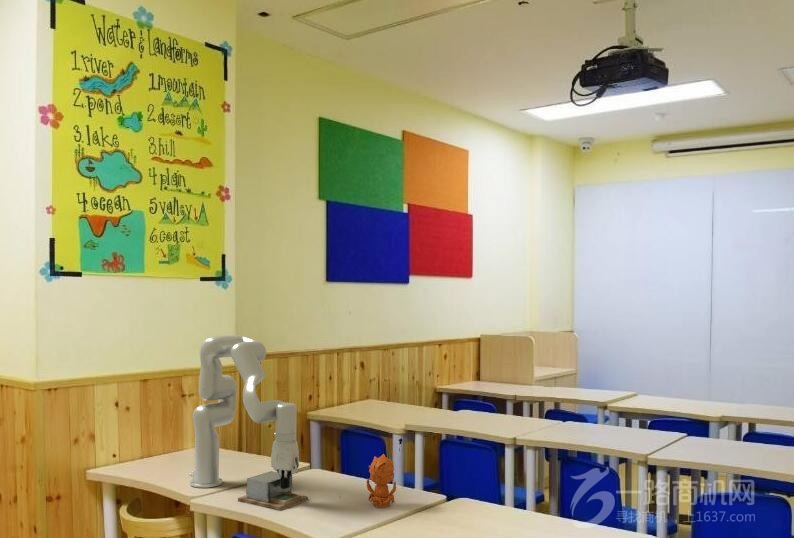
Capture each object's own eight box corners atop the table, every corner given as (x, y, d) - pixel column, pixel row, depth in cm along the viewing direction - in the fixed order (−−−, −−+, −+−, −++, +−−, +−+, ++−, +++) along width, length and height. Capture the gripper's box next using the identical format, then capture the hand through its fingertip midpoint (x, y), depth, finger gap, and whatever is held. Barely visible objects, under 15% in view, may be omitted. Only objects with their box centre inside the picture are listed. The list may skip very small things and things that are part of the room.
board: (237, 501, 268) (237, 494, 268) (267, 491, 282) (267, 484, 282) (279, 510, 258) (279, 503, 258) (308, 499, 271) (308, 493, 271)
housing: (246, 497, 268) (247, 478, 268) (271, 489, 279) (271, 471, 279) (268, 502, 262) (268, 482, 263) (292, 494, 273) (292, 475, 274)
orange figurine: (401, 502, 269) (401, 453, 269) (391, 510, 259) (391, 459, 259) (372, 499, 272) (373, 450, 273) (361, 507, 262) (362, 456, 263)
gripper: (263, 436, 268) (262, 487, 268) (294, 441, 260) (294, 493, 260) (277, 433, 274) (276, 482, 274) (308, 438, 266) (307, 488, 266)
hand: (285, 487), depth 267 cm, fingers closed
